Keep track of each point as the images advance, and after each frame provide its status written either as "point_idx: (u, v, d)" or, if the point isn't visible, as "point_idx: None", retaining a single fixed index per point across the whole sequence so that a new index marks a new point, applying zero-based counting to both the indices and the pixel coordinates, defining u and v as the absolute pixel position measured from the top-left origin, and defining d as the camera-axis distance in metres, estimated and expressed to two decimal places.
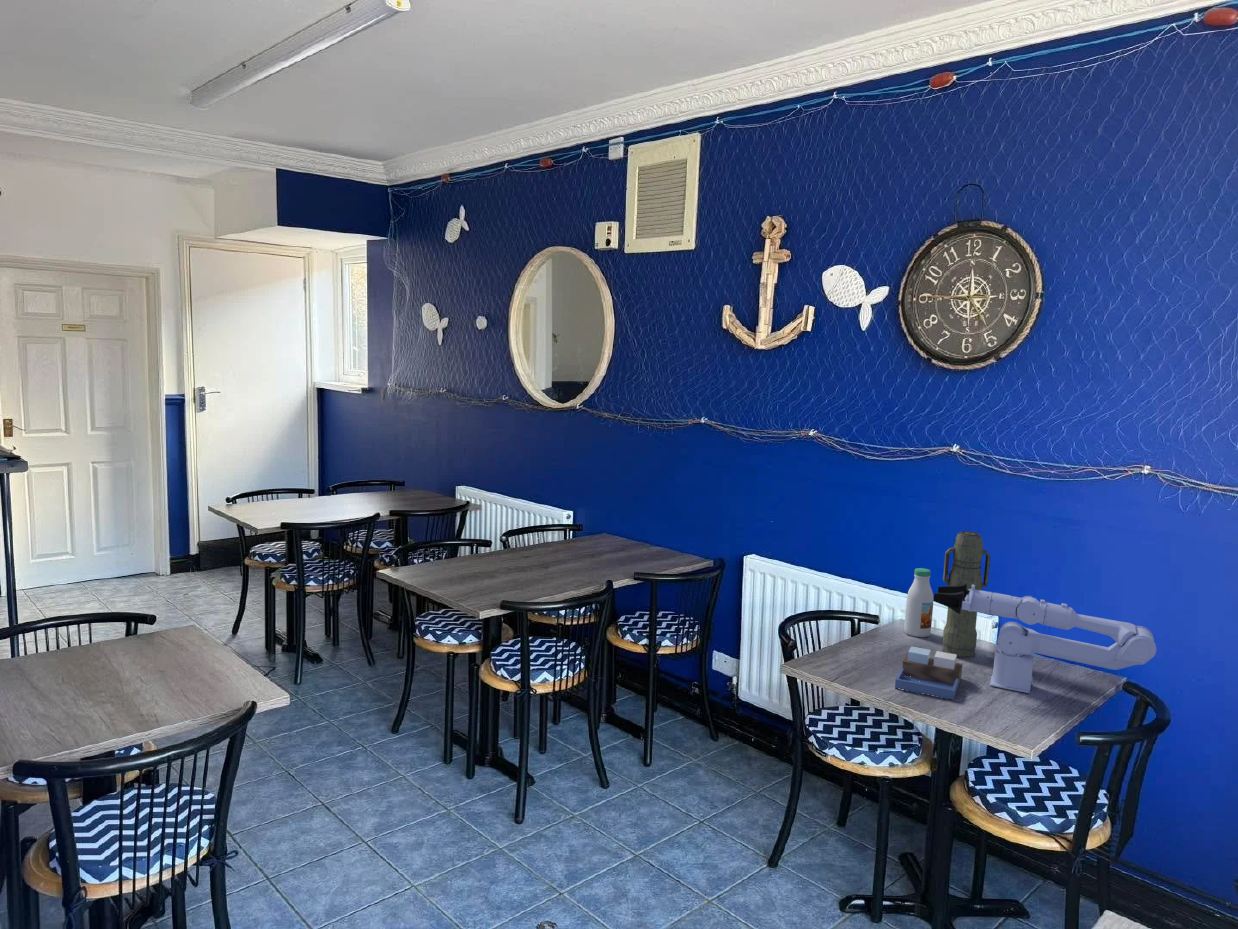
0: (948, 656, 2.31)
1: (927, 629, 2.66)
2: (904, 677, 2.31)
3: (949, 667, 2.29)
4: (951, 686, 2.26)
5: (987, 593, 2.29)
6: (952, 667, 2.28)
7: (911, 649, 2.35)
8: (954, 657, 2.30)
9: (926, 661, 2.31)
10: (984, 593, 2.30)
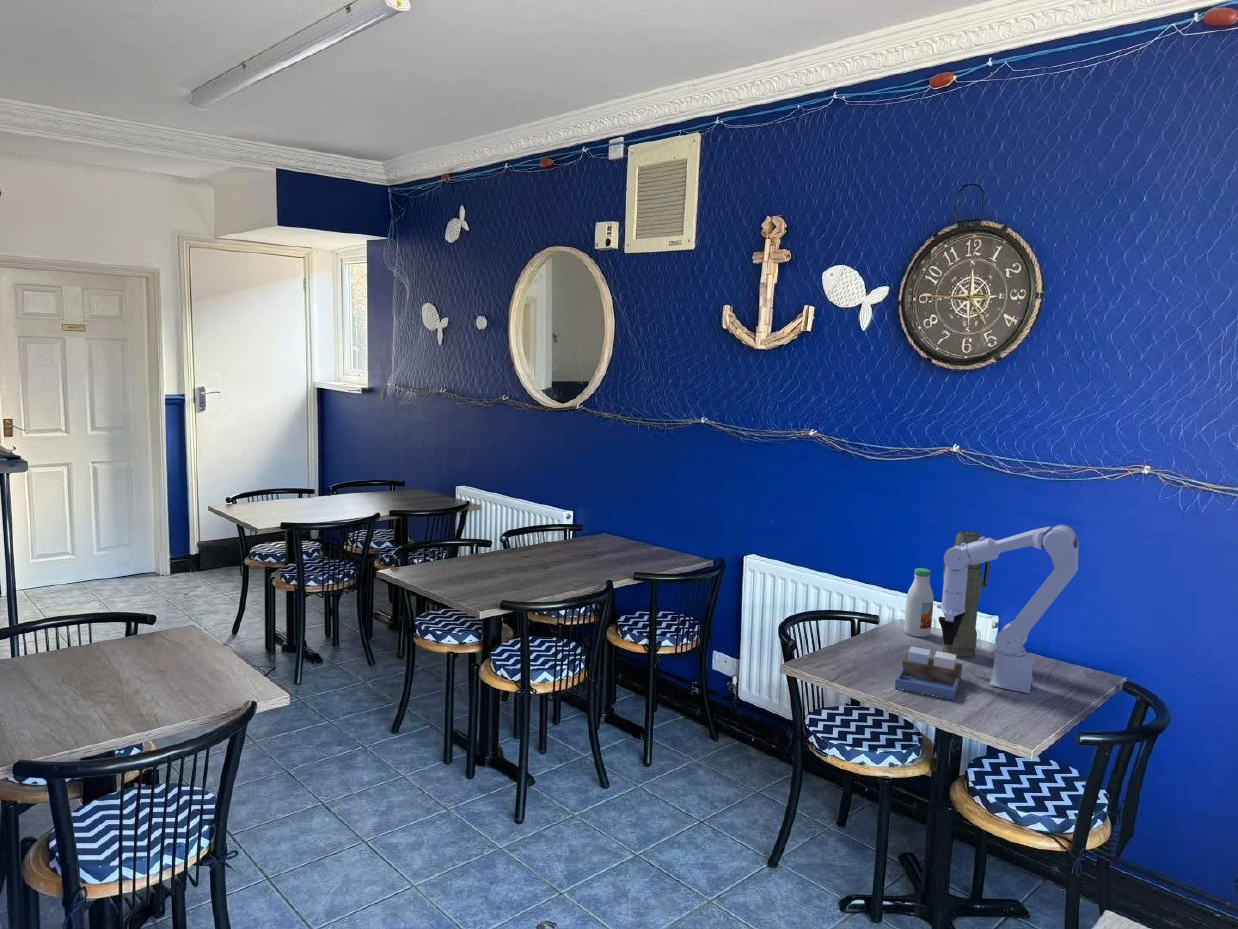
0: (948, 656, 2.31)
1: (927, 629, 2.66)
2: (904, 677, 2.31)
3: (949, 667, 2.29)
4: (951, 686, 2.26)
5: (943, 594, 2.36)
6: (952, 667, 2.28)
7: (911, 649, 2.35)
8: (954, 657, 2.30)
9: (926, 661, 2.31)
10: (943, 597, 2.36)
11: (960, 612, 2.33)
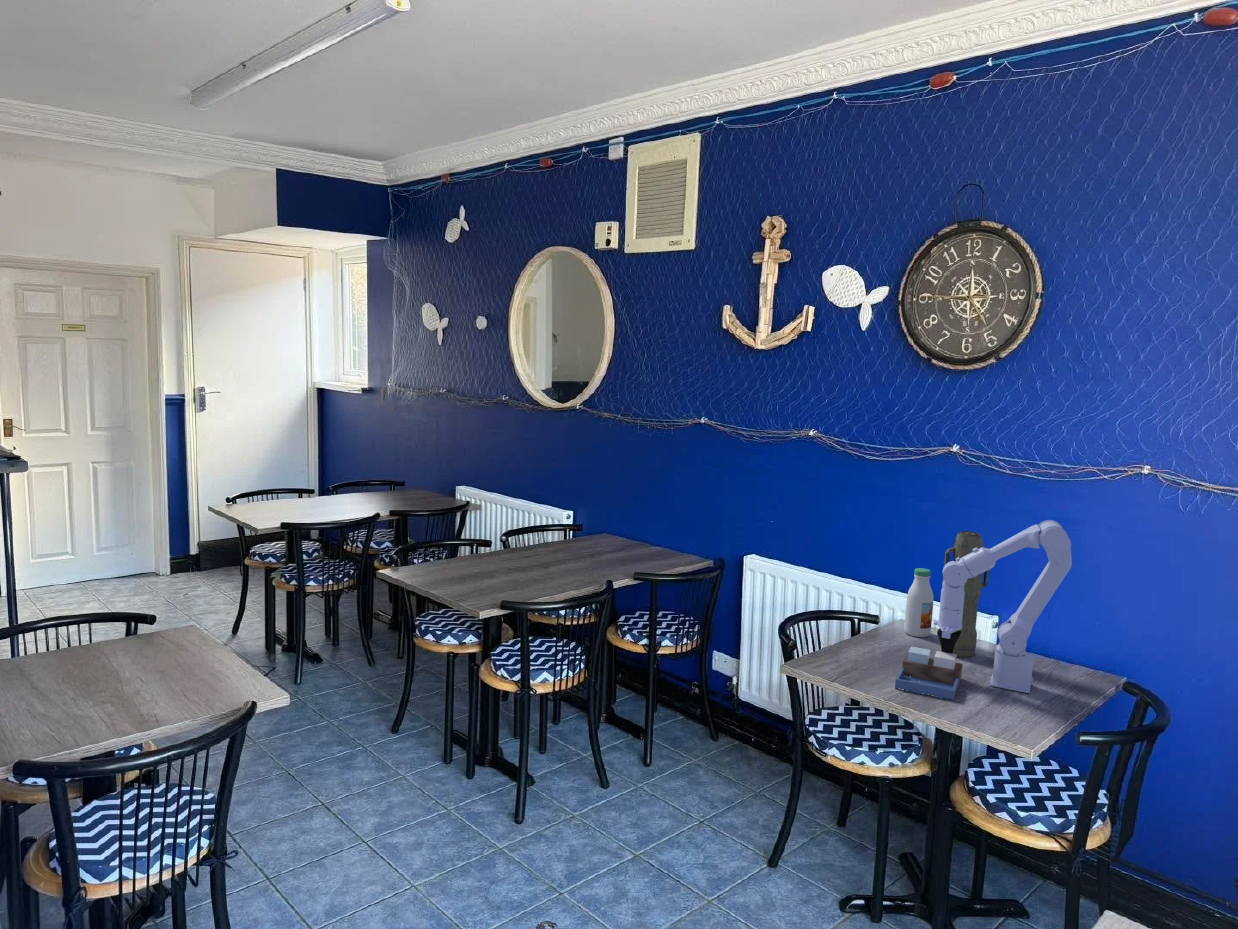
0: (948, 656, 2.31)
1: (927, 629, 2.66)
2: (904, 677, 2.31)
3: (949, 667, 2.29)
4: (951, 686, 2.26)
5: None
6: (952, 667, 2.28)
7: (911, 649, 2.35)
8: (954, 657, 2.30)
9: (926, 661, 2.31)
10: (939, 613, 2.33)
11: (957, 629, 2.30)
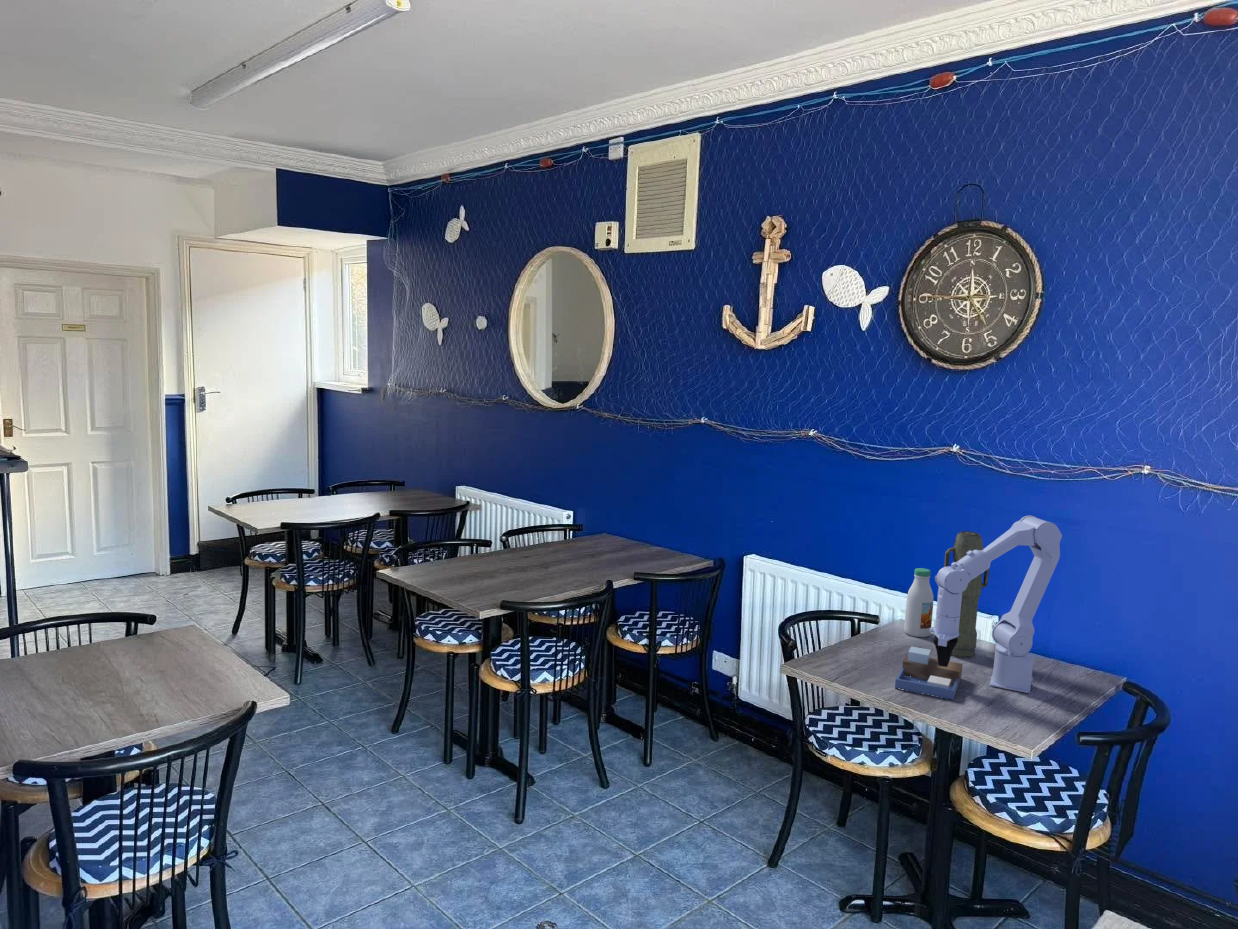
0: None
1: (927, 629, 2.66)
2: (904, 677, 2.31)
3: None
4: (951, 686, 2.26)
5: (936, 617, 2.27)
6: None
7: (911, 649, 2.35)
8: None
9: (926, 661, 2.31)
10: (936, 620, 2.27)
11: (954, 636, 2.24)
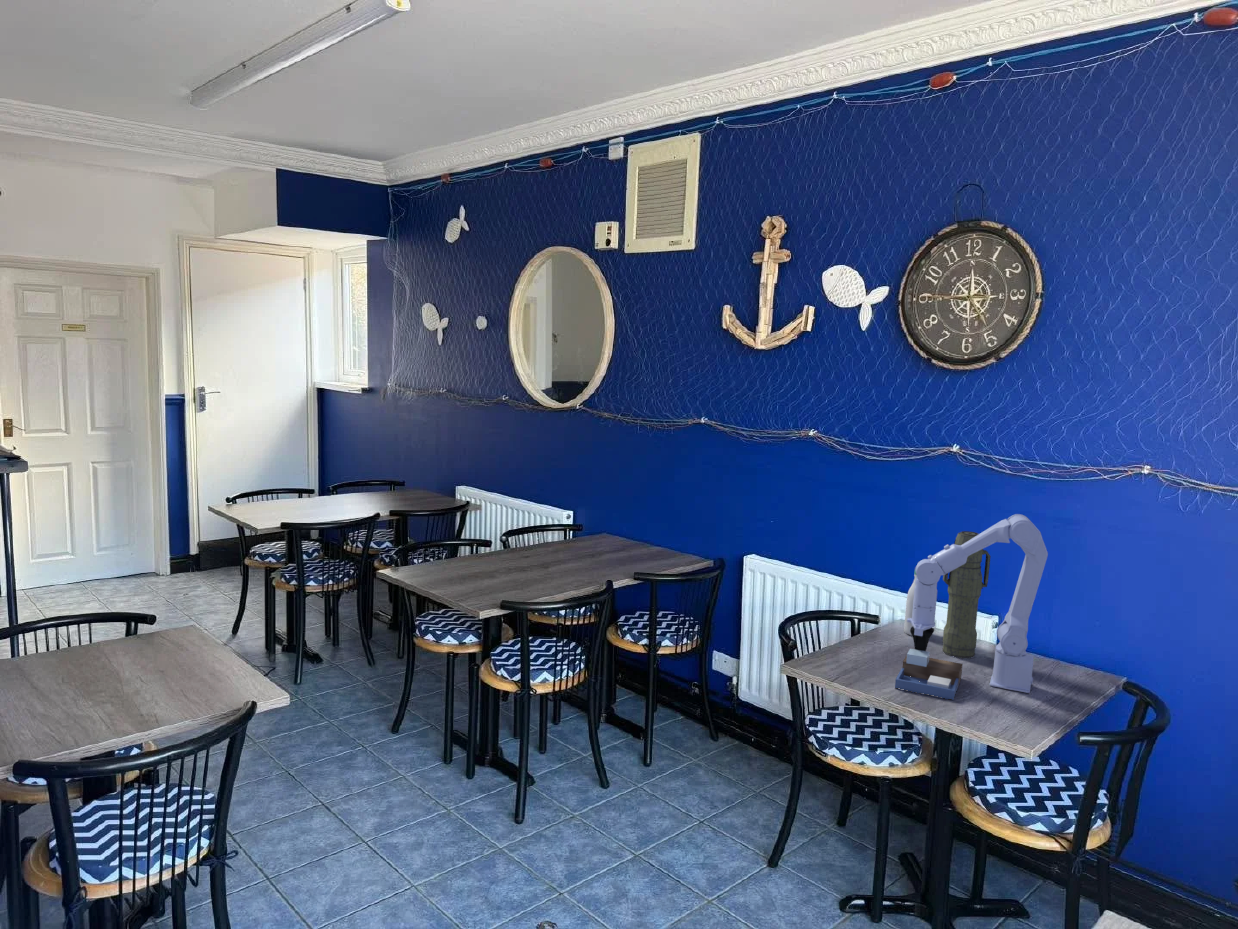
0: None
1: None
2: (904, 677, 2.31)
3: None
4: (951, 686, 2.26)
5: (913, 608, 2.35)
6: None
7: (910, 651, 2.33)
8: None
9: (925, 663, 2.29)
10: (912, 611, 2.34)
11: (930, 626, 2.31)
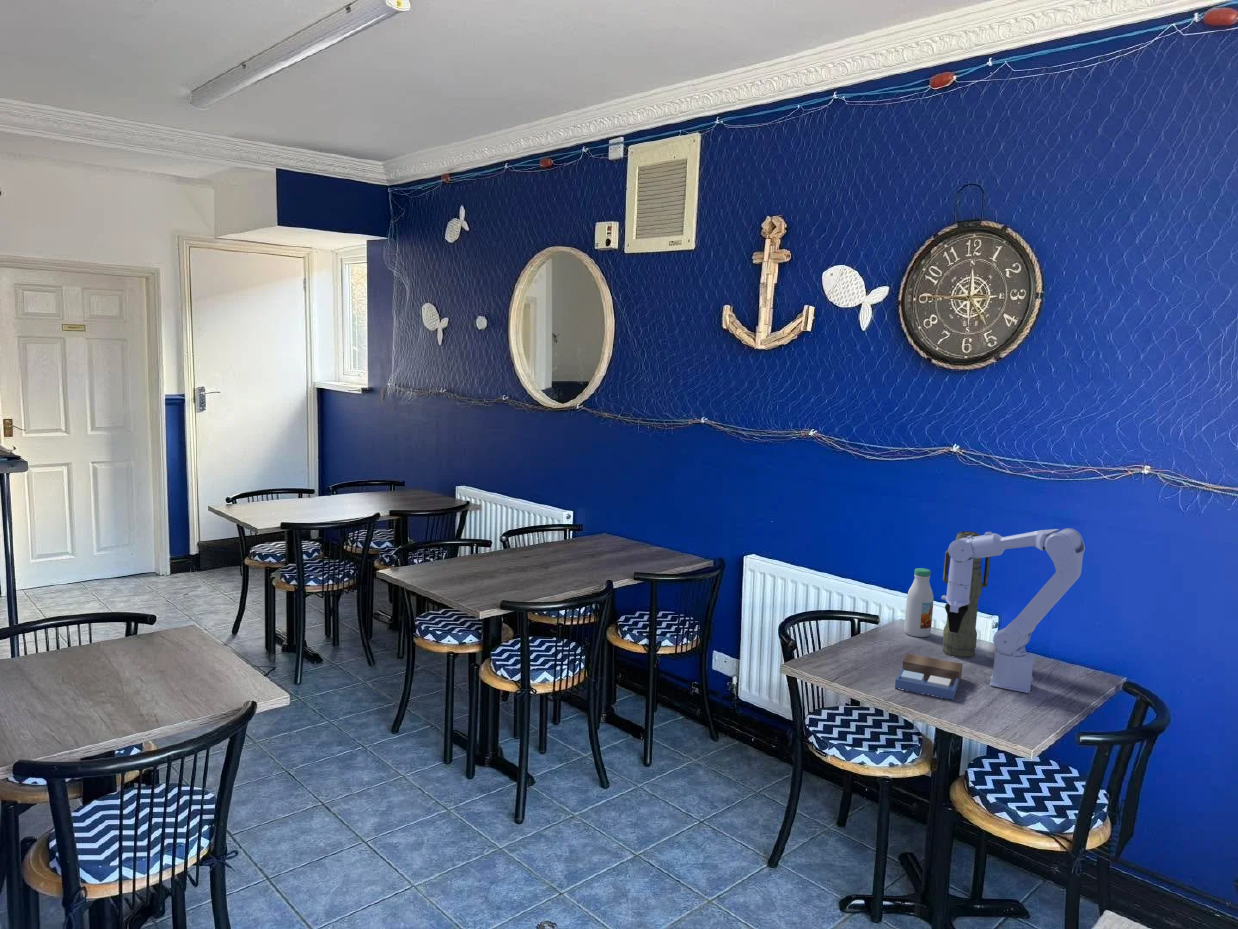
0: None
1: (927, 629, 2.66)
2: None
3: None
4: (951, 686, 2.26)
5: None
6: None
7: None
8: None
9: None
10: (947, 588, 2.37)
11: (965, 603, 2.34)
